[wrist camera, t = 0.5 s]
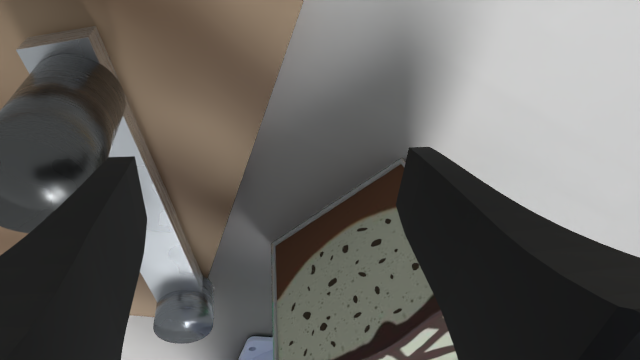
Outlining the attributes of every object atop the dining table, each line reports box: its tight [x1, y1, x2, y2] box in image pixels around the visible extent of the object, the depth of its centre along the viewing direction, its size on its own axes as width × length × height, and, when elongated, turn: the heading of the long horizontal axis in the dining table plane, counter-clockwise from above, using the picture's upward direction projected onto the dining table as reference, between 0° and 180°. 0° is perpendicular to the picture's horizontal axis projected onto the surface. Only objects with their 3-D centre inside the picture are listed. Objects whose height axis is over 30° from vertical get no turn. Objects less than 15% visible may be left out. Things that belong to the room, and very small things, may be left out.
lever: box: [0, 26, 214, 343], centre depth 18 cm, size 16×3×7 cm, turn 7°
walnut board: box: [0, 0, 303, 317], centre depth 21 cm, size 20×12×2 cm, turn 159°
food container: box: [271, 158, 458, 360], centre depth 24 cm, size 12×6×10 cm, turn 125°
